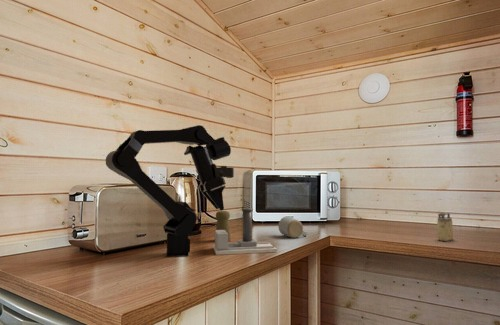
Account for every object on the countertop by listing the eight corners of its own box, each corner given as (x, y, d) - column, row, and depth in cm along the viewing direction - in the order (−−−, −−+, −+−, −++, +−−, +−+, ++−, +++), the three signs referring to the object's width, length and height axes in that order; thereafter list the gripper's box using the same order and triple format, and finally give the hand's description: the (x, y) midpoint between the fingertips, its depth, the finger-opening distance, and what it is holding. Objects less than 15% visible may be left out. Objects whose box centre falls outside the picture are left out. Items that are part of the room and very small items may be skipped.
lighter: (445, 238, 128) (444, 212, 128) (455, 239, 125) (455, 212, 125) (435, 240, 124) (435, 213, 124) (446, 241, 121) (445, 214, 121)
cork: (228, 242, 119) (228, 211, 120) (212, 242, 121) (212, 211, 121) (232, 239, 125) (232, 210, 126) (217, 239, 127) (217, 210, 127)
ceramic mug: (287, 239, 126) (288, 218, 126) (277, 235, 133) (278, 216, 134) (311, 237, 130) (311, 218, 130) (300, 234, 137) (300, 215, 138)
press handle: (241, 247, 104) (241, 209, 105) (238, 244, 110) (238, 208, 110) (256, 247, 105) (256, 209, 106) (253, 243, 111) (252, 207, 111)
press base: (216, 254, 101) (216, 234, 101) (213, 247, 110) (213, 229, 111) (276, 252, 104) (276, 232, 105) (268, 245, 114) (268, 228, 114)
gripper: (232, 152, 101) (249, 201, 101) (222, 158, 119) (237, 200, 119) (197, 164, 98) (215, 214, 98) (192, 169, 116) (207, 211, 116)
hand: (220, 209), depth 108 cm, fingers open, 9 cm apart
